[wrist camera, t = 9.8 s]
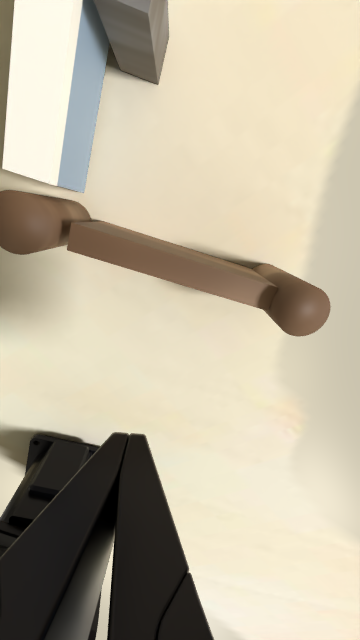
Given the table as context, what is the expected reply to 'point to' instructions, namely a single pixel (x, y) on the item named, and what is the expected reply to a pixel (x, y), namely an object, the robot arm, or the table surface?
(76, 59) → the gate
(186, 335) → the table surface
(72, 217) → the fence
